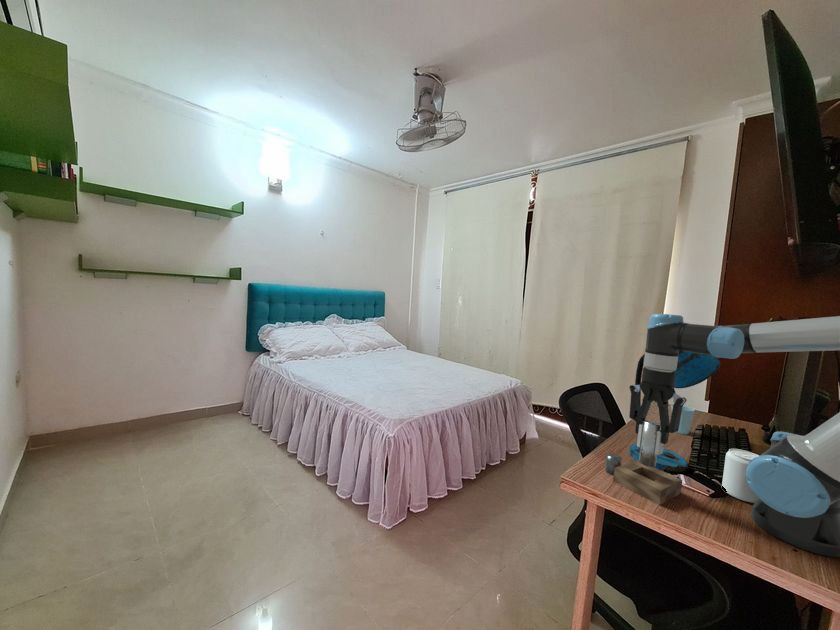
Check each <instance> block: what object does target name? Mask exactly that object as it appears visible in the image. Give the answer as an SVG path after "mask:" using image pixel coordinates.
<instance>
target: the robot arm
mask: <svg viewBox="0 0 840 630" xmlns="http://www.w3.org/2000/svg"><path fill="white" fill-rule="evenodd" d="M648 319H649V321H648V325H647V329H646V330H647V334H646V343H645V351H644V354H645V357H644V365H643V370H642V377H641V383H640V385H635V384H632V385H630V386H629V391H630V403H629V415H628V416H629V419H631V420H633V421H634V422H635V428H634V429H635V431H634V432H635V434H638V435H637V441H636V444H637V446H638V447H641V439H642V431H643V423H644V420H646V418H647V415H648V413H649V410H650V408H651V404H652V403H653V402H655V403H656V404H657V407H658V413H659V414H658V415H659V423H660V425H661V430H659V431H657V439H656V447H655V454H657V455H659V454H661V453H663V448H664V445H667V444H668V442H669V437H670V434H675V433H677V431H678V429H679V424H680V418H681V413H682V407H683V406H685V404H686V403H687V401H688V399H687V398H686V397H684V396H683V397H682V396H680V395H679V394H677V393H676V390H675V388H674V386H675V379H676V373H675V372H674V371H675V370H676V369H677V362H678V356H679V351H684V352H692V353H697V354H703V355H709V356H714V357H715V358H717V359H720V358H722V359H730V360H731V359H732V360H733V359H737V358H740V356H741V354H754V353H785V352H786V353H787V352H788V353H789V352H790V353H791V352H822V351H823V352H826V351H840V315H837V316H825V317H816V318H813V317H812V318H803V319H791V320H790V319H789V320H780V321H779V320H778V321H769V322H767V321H766V322H755V323H744V324H743V323H742V324H732V325H710V324H709V325H706V324H697V323H696V324H695V323H689V322H684V317H683V316H682V315H679V314H668V313H652V314H651V315H650V317H649V318H648ZM640 391H641V392H642V393H643V397H642V399H641V400H642V401H641V407H640V410H639V398H640ZM672 398H673V399H672ZM671 399H672V400H673V404H672V405H673V409H672V408H671V415H669V400H671ZM638 411H639V413H638ZM746 478H747V482H748V484H749V486H750V488H751V489H752V491H753V492H754V493H755V495H756V496H757V497H758V499H757V501H756V502H755V503H753V505H752V506H751V513H750V517H751V519H752V521H753V522H754V523H755V524H756V525H758V526H759V527H760V528H761V529H763V530H764V531H766V532H767V533H768V534H771V536H773V537H775V538H777V539H779V540H781V541H783V542H785V543H787V544H789V545H792V546H794V547H797V548H799V549H802V550H805V551H807V552H810V553H814V554H816V555H817V554H818V555H822V556H825V557H830V558H840V411H839V412H837V413H836V414H835V415H834V416H832V417H830V418H829V419H828V420H826V421H825V422H823V423H821V424H820V425H819V426H817V427H816V428H815V429H813V430H812V431H810V432H809V433H807V434H805V435H800V434H796V433H791V432H788V431H787V432H786V431H775V432H773V433H772V436H771V438H770V448H769V449H767V450H766V451H764V452H763V453H761V454H760V455H759V456H758V457H755V458H753V459H752V460H751V461H750V462H749V465H748V466H747V469H746Z"/></svg>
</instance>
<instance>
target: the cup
mask: <svg viewBox="0 0 840 630" xmlns="http://www.w3.org/2000/svg"><path fill="white" fill-rule="evenodd" d="M673 405H674V404H671V405H670V406H671V410H672V409H673ZM695 411H696V410H695V409H694V408H691V407H689V406H686V405H683V407H682V413H681V418H680V424H679V429H678V431H677V432H676V433H677V434H680V435H689V433H690V429H691V426H692V423H693V419H694V415H695Z"/></svg>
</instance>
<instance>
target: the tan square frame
mask: <svg viewBox="0 0 840 630" xmlns="http://www.w3.org/2000/svg"><path fill="white" fill-rule="evenodd" d="M612 478H613V479H612V481H613V482H614V483H616V484H618V485H620V486H622V487H624V488H625V489H627V490H630V491H631V492H633V493H635V494H638V495H639V496H641V497H643V498H645V499H647V500H648V501H650V502H652V503H654V504H656V505H658V506H660V505H662V504H664V503H666V502H668V501H670V500H671V499H673V498H675V497H678V496H679V495H681V494H682V487H683V479H682V478H678V477H677V476H675V475H672V474H670V473H668V472H667V471H666V472H665V471H664V470H660V469H657V468H654V467H648V466H645V465H643V464H641V463H640V462H639V460H636V459H634V460H632V461H629V462H626V463H624V464H621V465H620V466H618V467H615V468H614V475H613V477H612Z"/></svg>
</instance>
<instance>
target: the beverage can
mask: <svg viewBox="0 0 840 630" xmlns="http://www.w3.org/2000/svg"><path fill="white" fill-rule="evenodd" d="M758 456H760V455H759V454H758V453H757V454H756V453H754V452H751V451H748V450H744V449H739V448H729V449H728V451H727V452H726V453H725V458H724V467H723V473H722V474H723V475H722V482H721V487H722V486H723V487H724V488H725V489H726V491H727V492H726V493H727V494H728V495H730V496H731V497H733V498H735V499H737V500H740V501H743V502H746V503H751V504H754V503H755V502H756V501H757V499H758V497H757V496H756V495H755V493H754V492H753V491H752V489H751V488H750V486H749V484H748V482H747V478H746V469H747V466H748V465H749V462H750V461H751V460H752V459H753V458H755V457H758Z"/></svg>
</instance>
